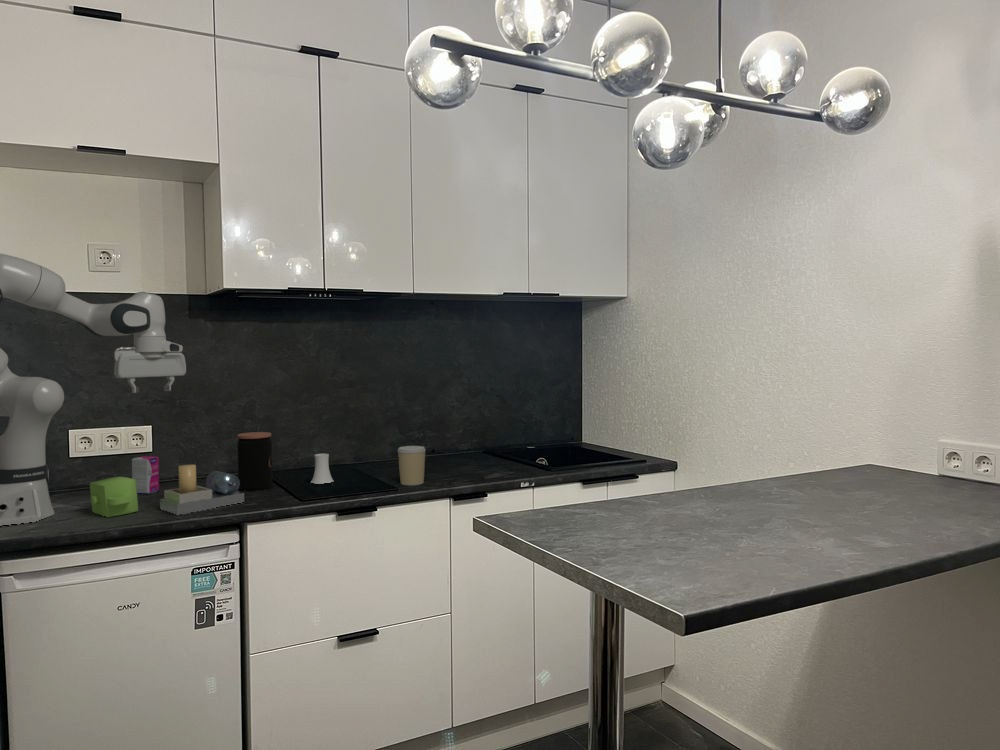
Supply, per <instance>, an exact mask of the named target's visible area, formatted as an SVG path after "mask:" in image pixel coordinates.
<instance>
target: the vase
mask: <svg viewBox="0 0 1000 750" xmlns="http://www.w3.org/2000/svg"><path fill="white" fill-rule="evenodd" d="M313 456H314V473H313V477H312V479H311V481H310V484H311V483H314V484H324V483H331V482H334V481H335V480H334V479H333V477H332V475H331V471H330V467H329V466H330V465H329V464H330V463H329V461H330V460H329V457H330V454H329V453H318V454H317V453H316V454H315V453H314V455H313Z"/></svg>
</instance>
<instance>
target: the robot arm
mask: <svg viewBox="0 0 1000 750" xmlns="http://www.w3.org/2000/svg"><path fill="white" fill-rule="evenodd" d="M3 298H6V299H9V300H12V301H14V302H17V303H20V304H23V305H24V306H29V307H32V308H36V309H40V310H45V311H50V312H53V313H55V314H57V315H60V316H61V317H64V318H67V319H68V320H72V321H74V322H76V323H78V324H80V325H81V326H83V328H84V329H86V330H87V331H88V332H89V333H90V334H92V335H93V336H95V337H98V338H110V337H119V336H130V335H133V346H119V347H118V348H116V349H114V352H113V359H114V367H113V375H114V377H115V378H117V379H127V383H128V384H129V387H131V393H132V394H139V393H140V387H139V386H136V384H135V382H136V378H157V377H159V378H160V377H161V378H162V377H166V380H167V383H166V385H164V384H163V391H164V392H171V391H172V385H173V383H174V382H175V377H181V376H182V377H183V376H185V374H186V373H187V364H186V357H185V355H184V354H183V353H182V352H183V349H184V347H183V345H182V344H178V343H176V342H171V341H169V340H167V335H166V332H165V331H166V330H165V325H166V311H165V310H166V309H165V304H164V300H163V299H162V297H161V296H160V295H158V294H156V293H152V292H146V291H140V292H139V291H137V292H135V293H134V294H133V295H132V296H130V297H127V298H126V299H125V300H124V299H123V300H122V301H118V302H114V303H113V302H112V303H90V302H87V301H85V300H82V299H80V298H78V297H75V296H73V295H71V294H69V293H67V292H66V283H65V281H64V279H63V277H62V276H60V275H59V274H58V273H56V272H54V271H53V270H51V269H49V268H47V267H45V266H42V265H40V264H38V263H35V262H32V261H31V260H27V259H25V258H21V257H17V256H13V255H9V254H4V253H0V304H1V303H2V302H3ZM8 363H9V356H8V354H7V353H6V352H5V351H4V350H3V349H2V348H1V347H0V417H9V418H8V419H9V420H8V423H7V427H6V429H5V431H4V433H3V434H1V435H0V526H2V525H9V526H12V525H11V524H17V525H22V524H21V523H24V524H30V523H29V522H32V523H36V521H37V522H39V520H40V521H42V520H43V519H46V518H49V517H51V516H54V514H56V513H55V511H54V507H53V505H52V502H51V497H50V492H49V486H48V484H49V479H50V477H49V468H48V467H49V466H48V464H47V463H46V460H47V459H46V438H47V432H48V428H49V425H50V423H51V421H52V418H53V416H54V415H55V414H57V412H58V411H59V410H60V409H61V408H62V406H63V404H64V401H65V393H64V392H65V391H64V389H63V387H62V386H61V385H60V384H59V383H58V381H56V380H54V379H53V380H52V379H49V378H47V377H46V378H45V377H42V376H21V375H20V376H19V375H17V374H16V373H13V372H12V371H11V370H10V368H9V366H8V365H9V364H8ZM41 519H42V520H41ZM2 527H3V526H2Z"/></svg>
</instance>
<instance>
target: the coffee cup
mask: <svg viewBox="0 0 1000 750" xmlns="http://www.w3.org/2000/svg"><path fill="white" fill-rule="evenodd" d="M397 455H398V456H397V458H398V468H399V471H398V472H399V481H400V484H401V485H403V486H417V485H423V484H424V483H425V482H424V481H425V467H426V466H425V465H426V464H425V463H426V448H425V446H421V445H406V446H400V447H398V448H397Z"/></svg>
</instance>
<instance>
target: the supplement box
mask: <svg viewBox="0 0 1000 750" xmlns="http://www.w3.org/2000/svg"><path fill="white" fill-rule="evenodd" d="M159 462H160V459H159V456H146V455H145V456H144V455H143V456H140V457H134V458H131V479H134V480H136V489H137V495H140V494H148V495H151V494H154V493H157V491H158V492H160V482H159V481H160V474H159V473H160V470H159V469H160V468H159V464H160V463H159ZM150 493H151V494H150Z"/></svg>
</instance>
